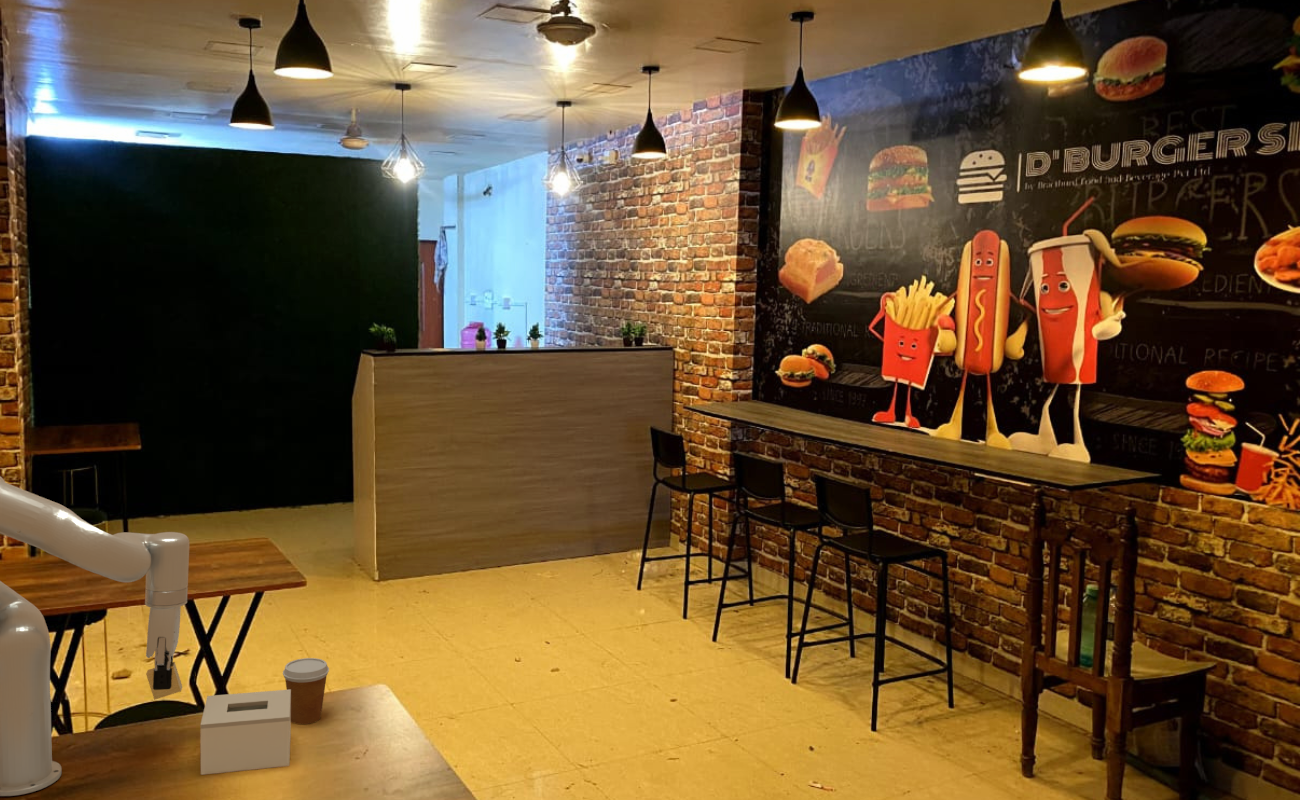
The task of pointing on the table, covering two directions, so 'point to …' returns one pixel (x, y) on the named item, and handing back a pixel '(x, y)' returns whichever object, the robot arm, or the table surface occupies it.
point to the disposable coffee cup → (306, 688)
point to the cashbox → (246, 731)
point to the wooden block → (175, 683)
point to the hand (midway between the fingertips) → (163, 685)
